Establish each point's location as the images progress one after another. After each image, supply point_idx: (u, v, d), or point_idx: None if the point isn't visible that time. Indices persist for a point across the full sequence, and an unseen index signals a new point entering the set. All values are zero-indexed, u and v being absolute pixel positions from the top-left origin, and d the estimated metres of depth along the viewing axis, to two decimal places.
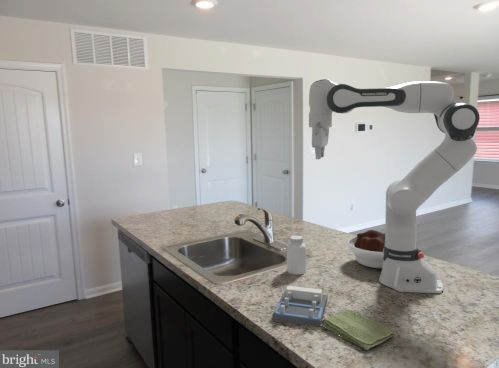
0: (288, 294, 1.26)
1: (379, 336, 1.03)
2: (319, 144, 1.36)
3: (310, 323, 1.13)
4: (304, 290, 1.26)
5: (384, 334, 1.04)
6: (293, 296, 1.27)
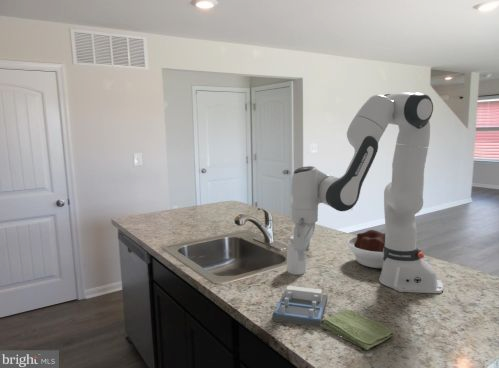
0: (288, 294, 1.26)
1: (379, 336, 1.03)
2: (302, 248, 1.15)
3: (310, 323, 1.13)
4: (304, 290, 1.26)
5: (384, 334, 1.05)
6: (293, 296, 1.27)
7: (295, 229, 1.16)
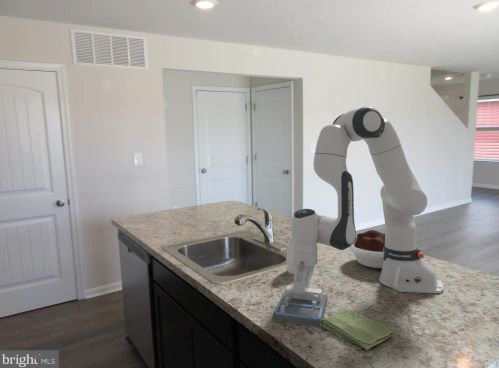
0: (288, 294, 1.26)
1: (379, 336, 1.03)
2: (302, 292, 1.17)
3: (310, 323, 1.13)
4: None
5: (384, 333, 1.05)
6: (293, 296, 1.27)
7: (295, 273, 1.18)
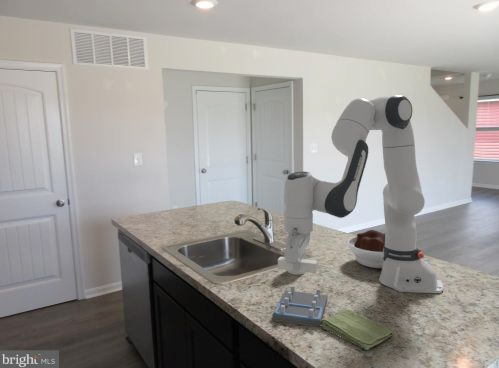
0: (288, 294, 1.26)
1: (379, 336, 1.04)
2: (295, 260, 1.06)
3: (310, 323, 1.13)
4: None
5: (383, 333, 1.05)
6: (285, 267, 1.16)
7: (288, 240, 1.07)
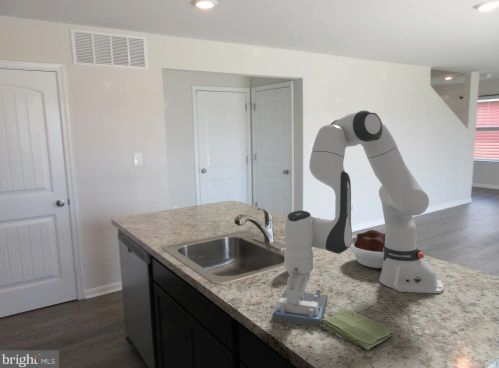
0: None
1: (379, 335, 1.04)
2: (296, 302, 1.07)
3: (310, 323, 1.13)
4: None
5: (384, 333, 1.05)
6: (287, 309, 1.18)
7: (288, 281, 1.08)
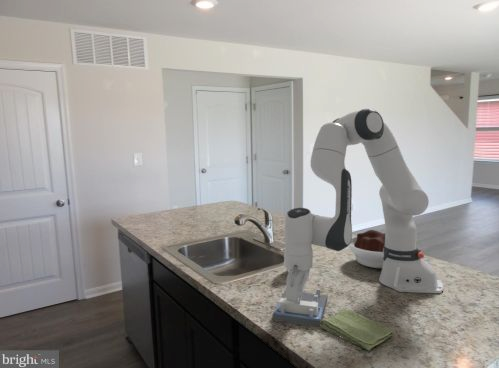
0: None
1: (380, 336, 1.04)
2: (295, 298, 1.07)
3: (310, 323, 1.13)
4: (298, 304, 1.16)
5: (384, 333, 1.05)
6: (287, 310, 1.18)
7: (288, 278, 1.08)
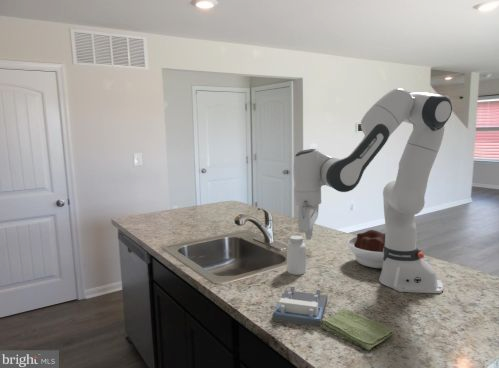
0: (288, 294, 1.26)
1: (379, 335, 1.04)
2: (307, 229, 1.15)
3: (310, 323, 1.13)
4: (299, 304, 1.16)
5: (384, 333, 1.05)
6: (287, 309, 1.18)
7: (299, 211, 1.16)
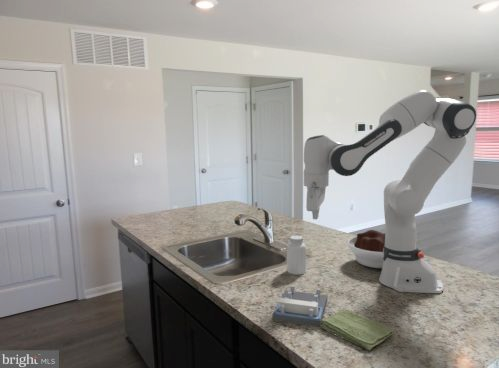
0: (288, 294, 1.26)
1: (380, 335, 1.04)
2: (314, 208, 1.24)
3: (310, 323, 1.13)
4: (299, 304, 1.16)
5: (384, 333, 1.05)
6: (287, 309, 1.18)
7: (308, 191, 1.25)
